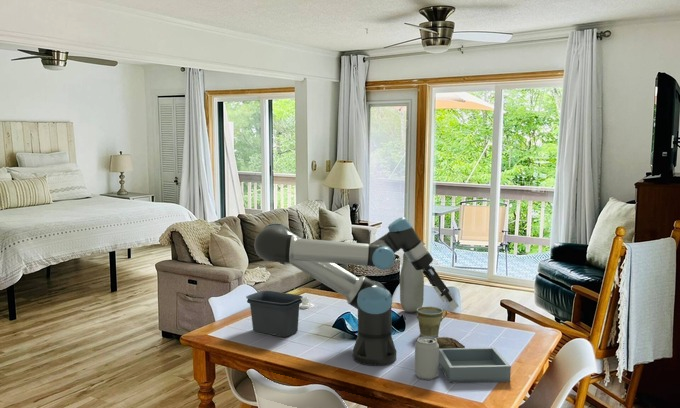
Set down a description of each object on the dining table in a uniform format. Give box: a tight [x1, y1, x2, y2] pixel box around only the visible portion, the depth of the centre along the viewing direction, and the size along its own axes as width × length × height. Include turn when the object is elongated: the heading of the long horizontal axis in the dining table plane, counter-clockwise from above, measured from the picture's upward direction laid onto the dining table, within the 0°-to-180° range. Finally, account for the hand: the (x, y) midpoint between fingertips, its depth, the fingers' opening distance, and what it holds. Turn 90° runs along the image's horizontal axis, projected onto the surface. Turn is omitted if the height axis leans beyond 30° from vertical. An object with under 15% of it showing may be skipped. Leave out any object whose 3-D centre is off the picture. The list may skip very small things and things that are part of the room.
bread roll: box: [435, 336, 466, 349], centre depth 199 cm, size 13×12×5 cm
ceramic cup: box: [416, 306, 448, 339], centre depth 214 cm, size 13×10×10 cm
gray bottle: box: [399, 252, 425, 313], centre depth 243 cm, size 10×10×28 cm
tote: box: [439, 347, 512, 384], centre depth 179 cm, size 19×16×5 cm
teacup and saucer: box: [299, 296, 315, 309], centre depth 254 cm, size 9×8×4 cm
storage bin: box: [245, 290, 304, 338], centre depth 219 cm, size 21×16×14 cm
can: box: [414, 336, 440, 380], centre depth 176 cm, size 8×8×12 cm
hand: (450, 303), depth 203 cm, fingers open, 13 cm apart
